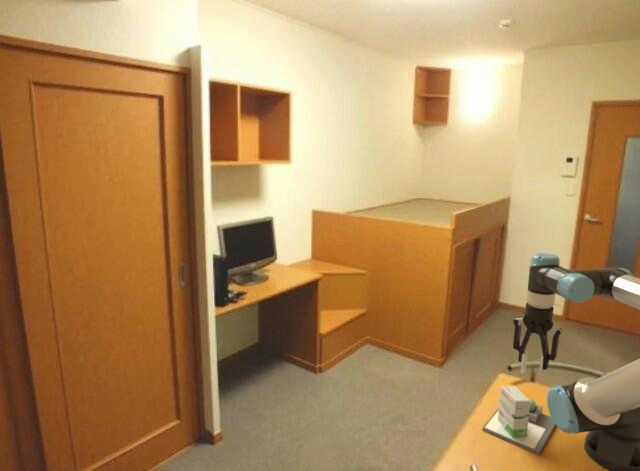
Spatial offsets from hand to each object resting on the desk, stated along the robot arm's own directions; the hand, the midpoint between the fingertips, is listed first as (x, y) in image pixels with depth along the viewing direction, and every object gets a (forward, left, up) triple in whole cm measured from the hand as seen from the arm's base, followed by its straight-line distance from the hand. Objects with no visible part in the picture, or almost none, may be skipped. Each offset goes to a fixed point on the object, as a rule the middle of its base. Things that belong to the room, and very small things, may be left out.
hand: (531, 374), depth 133 cm
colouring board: (0, +6, -15) cm, 16 cm away
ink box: (+1, +11, -14) cm, 18 cm away
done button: (0, 0, -12) cm, 12 cm away
